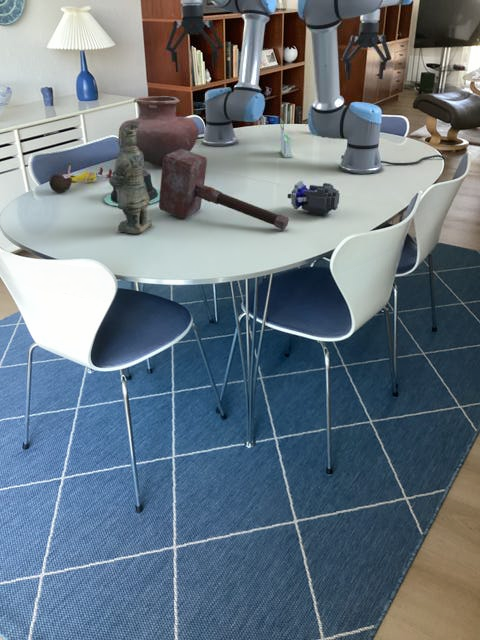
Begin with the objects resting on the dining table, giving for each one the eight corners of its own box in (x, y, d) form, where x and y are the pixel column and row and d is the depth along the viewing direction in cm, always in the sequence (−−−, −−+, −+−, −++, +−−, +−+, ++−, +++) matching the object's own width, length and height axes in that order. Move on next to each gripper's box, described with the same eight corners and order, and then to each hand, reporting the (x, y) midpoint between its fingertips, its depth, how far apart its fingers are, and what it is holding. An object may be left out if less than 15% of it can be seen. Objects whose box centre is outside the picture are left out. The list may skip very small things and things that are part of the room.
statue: (131, 220, 168) (117, 116, 152) (158, 224, 164) (147, 118, 149) (109, 233, 159) (93, 124, 144) (138, 237, 156) (124, 126, 140)
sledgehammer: (299, 190, 156) (179, 147, 167) (285, 200, 148) (161, 154, 160) (286, 244, 166) (174, 200, 177) (272, 256, 158) (156, 209, 170)
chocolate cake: (91, 202, 180) (113, 186, 197) (142, 231, 182) (160, 212, 199) (107, 162, 172) (129, 148, 190) (160, 192, 174) (177, 176, 192)
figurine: (118, 166, 204) (64, 174, 185) (119, 186, 207) (65, 196, 188) (93, 161, 211) (38, 168, 191) (95, 181, 214) (40, 190, 195)
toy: (295, 178, 172) (342, 184, 166) (295, 205, 177) (340, 211, 171) (285, 186, 166) (333, 192, 160) (284, 213, 170) (331, 220, 164)
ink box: (287, 151, 237) (288, 117, 230) (290, 157, 229) (291, 122, 222) (279, 151, 237) (280, 117, 230) (282, 157, 229) (283, 122, 221)
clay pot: (207, 155, 234) (203, 91, 222) (188, 175, 209) (184, 105, 196) (138, 153, 239) (131, 91, 226) (112, 172, 214) (103, 104, 201)
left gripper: (227, 3, 197) (229, 68, 207) (156, 5, 195) (162, 70, 206) (228, 3, 190) (230, 71, 201) (155, 5, 189) (161, 73, 200)
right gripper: (397, 20, 224) (391, 77, 235) (336, 22, 223) (332, 79, 234) (403, 21, 218) (396, 79, 228) (340, 22, 216) (336, 81, 227)
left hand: (195, 71), depth 203 cm, fingers open, 13 cm apart
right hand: (364, 79), depth 231 cm, fingers open, 13 cm apart
